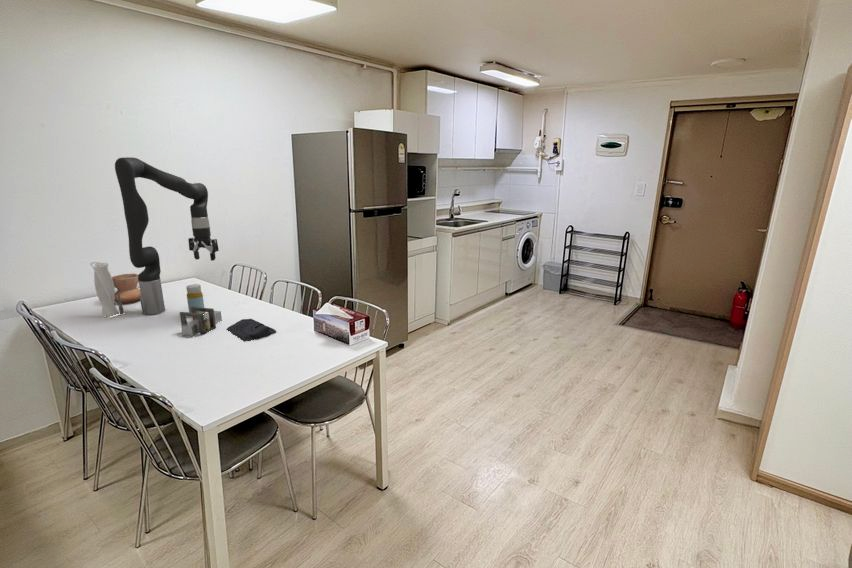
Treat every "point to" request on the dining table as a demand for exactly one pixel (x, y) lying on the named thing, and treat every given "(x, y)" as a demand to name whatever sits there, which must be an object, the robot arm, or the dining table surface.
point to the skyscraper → (106, 290)
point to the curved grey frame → (200, 318)
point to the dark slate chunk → (250, 330)
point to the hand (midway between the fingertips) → (205, 259)
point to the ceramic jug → (127, 287)
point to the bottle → (195, 297)
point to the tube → (193, 325)
